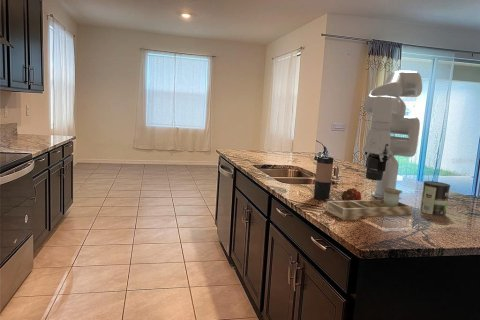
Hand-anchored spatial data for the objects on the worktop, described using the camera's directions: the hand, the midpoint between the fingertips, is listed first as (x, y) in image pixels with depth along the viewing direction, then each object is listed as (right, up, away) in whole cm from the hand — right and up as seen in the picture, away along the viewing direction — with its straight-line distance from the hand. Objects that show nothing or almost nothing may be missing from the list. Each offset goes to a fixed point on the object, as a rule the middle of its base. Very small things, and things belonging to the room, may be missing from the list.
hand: (375, 169), depth 151 cm
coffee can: (+28, -20, +8) cm, 36 cm away
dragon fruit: (-5, -17, +16) cm, 24 cm away
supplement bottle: (0, -4, +1) cm, 4 cm away
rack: (-2, -19, +3) cm, 19 cm away
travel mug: (-17, -15, +25) cm, 34 cm away
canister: (+9, -18, +6) cm, 21 cm away
